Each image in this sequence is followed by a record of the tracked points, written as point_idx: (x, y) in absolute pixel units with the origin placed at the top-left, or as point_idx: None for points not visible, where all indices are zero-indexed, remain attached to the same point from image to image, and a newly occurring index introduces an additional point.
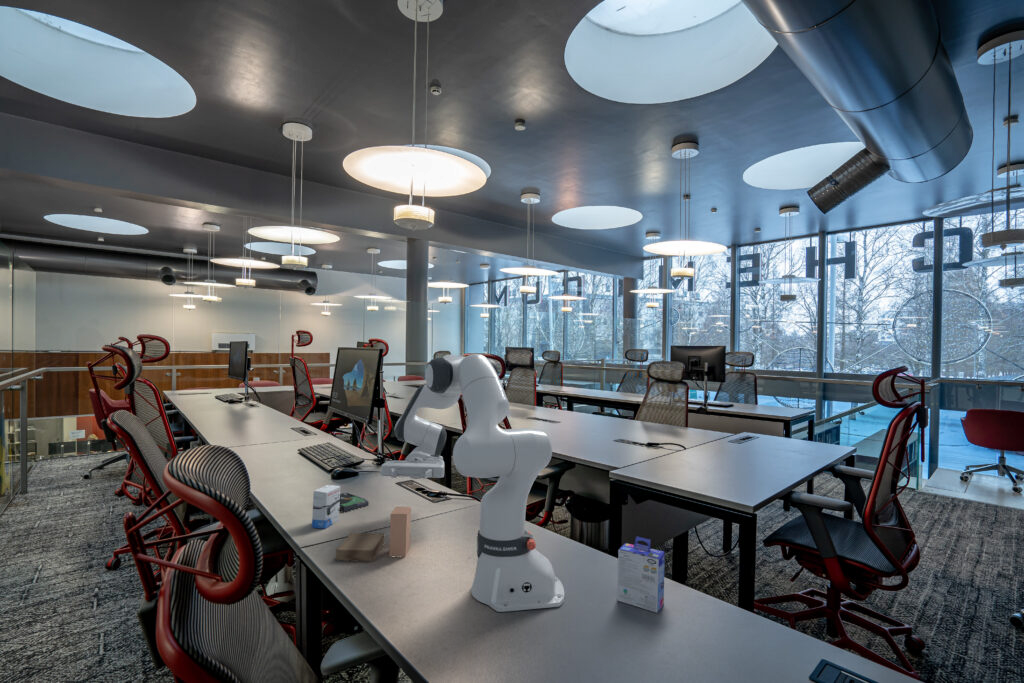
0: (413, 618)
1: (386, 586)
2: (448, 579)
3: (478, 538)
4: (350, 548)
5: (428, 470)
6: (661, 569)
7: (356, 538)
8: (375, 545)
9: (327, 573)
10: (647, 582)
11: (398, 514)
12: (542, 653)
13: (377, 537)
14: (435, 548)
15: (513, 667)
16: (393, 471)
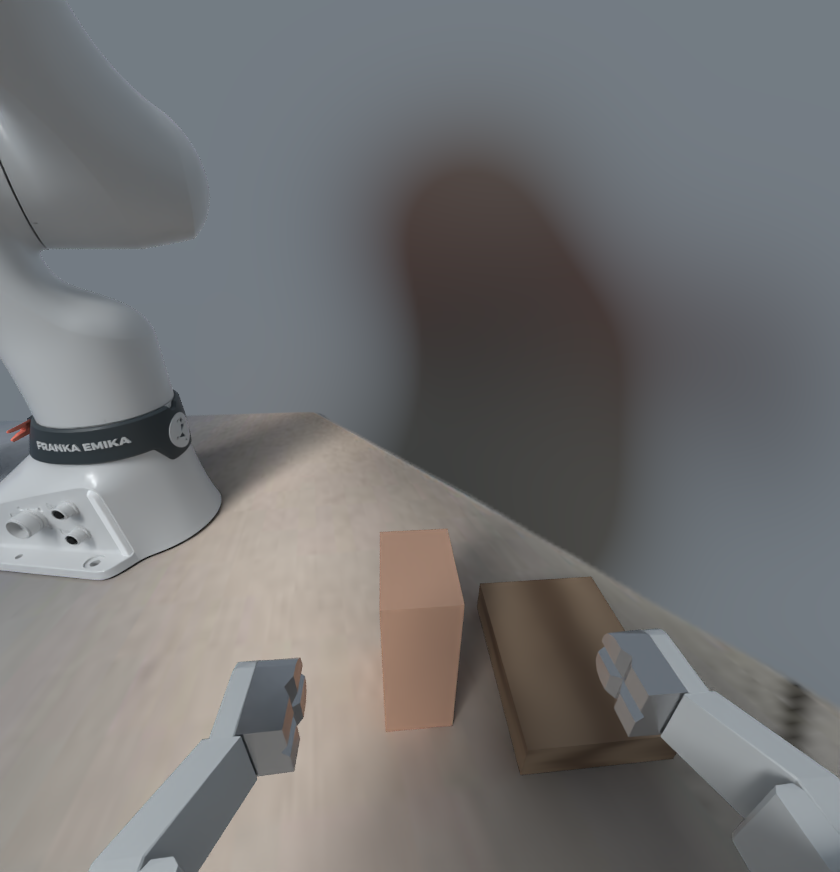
0: (329, 458)
1: (393, 514)
2: (257, 545)
3: (180, 403)
4: (556, 586)
5: (175, 809)
6: None
7: None
8: (492, 615)
9: (548, 543)
10: None
11: (415, 532)
12: None
13: (529, 691)
14: None
15: (220, 418)
16: (664, 652)
